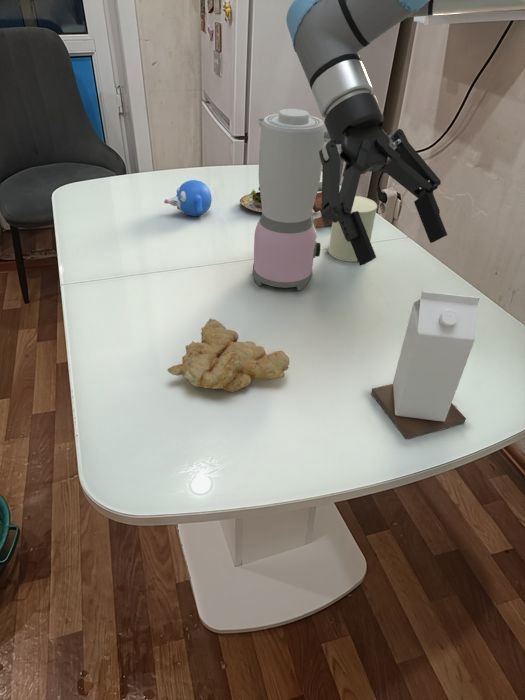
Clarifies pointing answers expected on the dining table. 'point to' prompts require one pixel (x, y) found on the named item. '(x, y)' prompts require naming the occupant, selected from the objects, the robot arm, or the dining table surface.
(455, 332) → the milk carton
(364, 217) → the can
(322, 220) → the pottery mug
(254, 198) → the plate of food
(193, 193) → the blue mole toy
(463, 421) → the coaster board
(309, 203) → the blender
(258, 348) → the ginger root
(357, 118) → the robot arm
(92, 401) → the dining table surface
